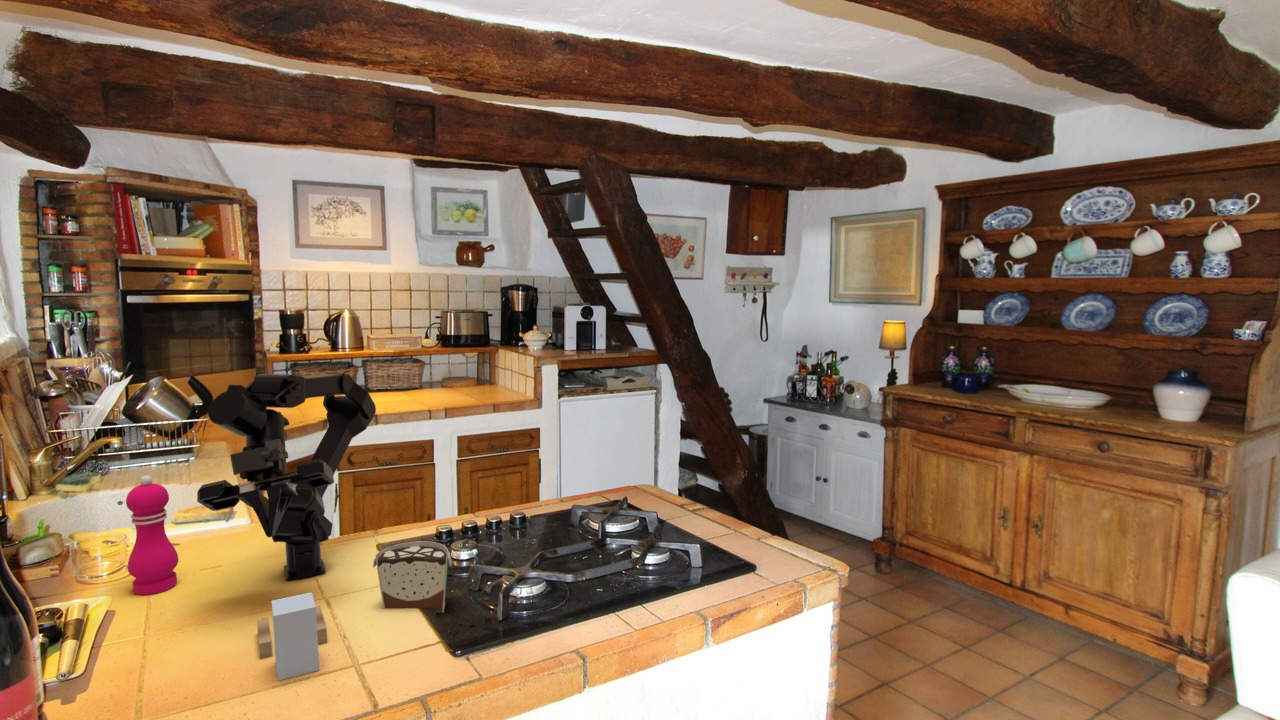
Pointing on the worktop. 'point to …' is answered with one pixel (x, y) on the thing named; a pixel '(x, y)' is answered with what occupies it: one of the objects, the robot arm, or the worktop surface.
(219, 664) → the worktop surface
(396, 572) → the food container
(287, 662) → the block
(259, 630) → the tan cradle
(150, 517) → the pepper mill
